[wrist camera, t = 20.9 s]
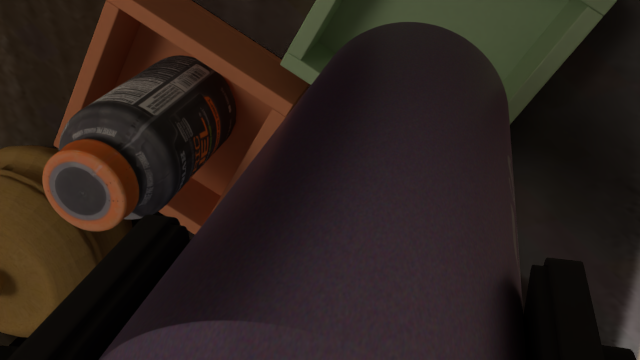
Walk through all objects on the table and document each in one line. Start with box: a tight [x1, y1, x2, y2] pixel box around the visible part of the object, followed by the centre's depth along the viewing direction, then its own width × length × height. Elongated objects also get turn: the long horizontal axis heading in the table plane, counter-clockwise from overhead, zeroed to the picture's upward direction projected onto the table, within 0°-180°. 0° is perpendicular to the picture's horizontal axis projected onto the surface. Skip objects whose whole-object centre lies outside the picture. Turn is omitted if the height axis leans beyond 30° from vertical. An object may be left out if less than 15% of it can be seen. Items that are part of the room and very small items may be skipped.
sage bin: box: [280, 0, 617, 124], centre depth 29 cm, size 11×11×4 cm
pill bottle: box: [42, 55, 236, 232], centre depth 31 cm, size 6×6×11 cm
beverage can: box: [99, 22, 526, 360], centre depth 13 cm, size 6×6×15 cm
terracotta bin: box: [54, 0, 310, 234], centre depth 35 cm, size 11×11×4 cm
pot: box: [0, 145, 132, 338], centre depth 38 cm, size 12×12×10 cm
